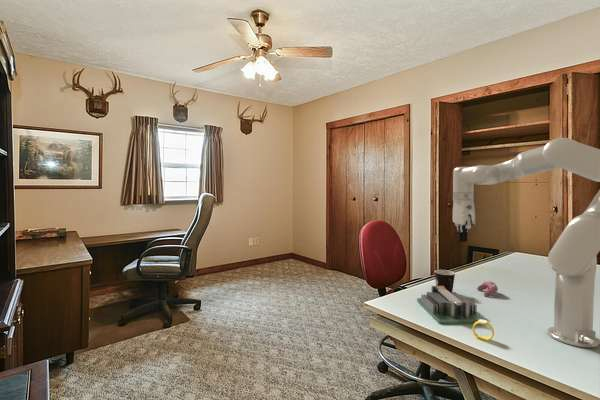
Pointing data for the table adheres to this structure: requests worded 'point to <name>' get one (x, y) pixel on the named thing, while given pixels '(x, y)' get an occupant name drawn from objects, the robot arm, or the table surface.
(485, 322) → the watch
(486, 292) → the video game controller
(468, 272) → the table surface
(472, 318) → the heat sink base
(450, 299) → the steel strap
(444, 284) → the coffee mug
